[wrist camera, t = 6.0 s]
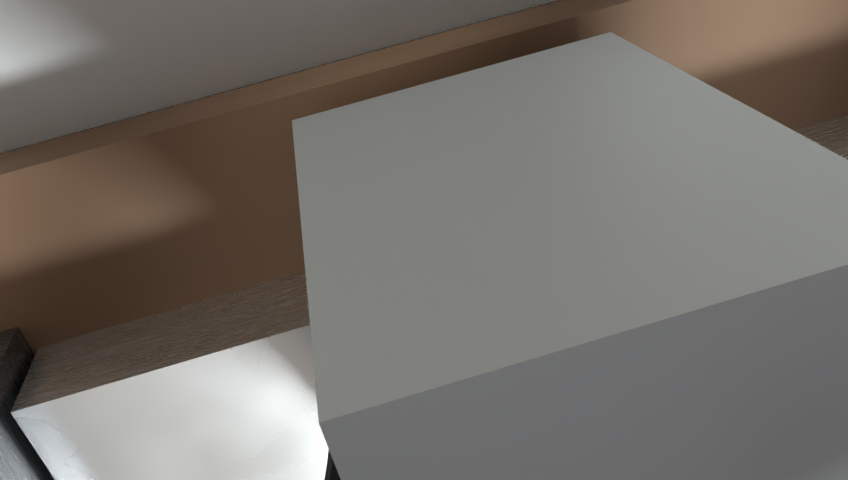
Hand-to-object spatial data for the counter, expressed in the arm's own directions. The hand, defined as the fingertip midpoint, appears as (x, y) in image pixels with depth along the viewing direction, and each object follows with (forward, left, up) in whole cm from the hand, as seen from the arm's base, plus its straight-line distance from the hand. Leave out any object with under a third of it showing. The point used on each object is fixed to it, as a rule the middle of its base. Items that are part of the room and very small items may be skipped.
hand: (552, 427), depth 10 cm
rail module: (0, 0, -2) cm, 2 cm away
